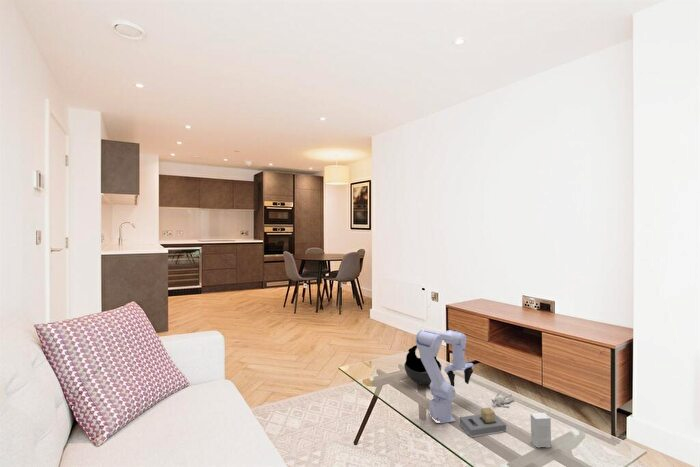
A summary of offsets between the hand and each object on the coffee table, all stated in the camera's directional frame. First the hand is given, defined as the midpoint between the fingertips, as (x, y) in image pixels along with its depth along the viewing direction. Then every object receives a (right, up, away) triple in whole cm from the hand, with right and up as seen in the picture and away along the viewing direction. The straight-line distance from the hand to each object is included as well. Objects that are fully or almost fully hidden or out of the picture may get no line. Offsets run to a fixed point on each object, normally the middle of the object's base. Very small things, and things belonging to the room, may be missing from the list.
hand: (459, 384), depth 178 cm
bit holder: (+5, -11, -18) cm, 22 cm away
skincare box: (+23, -12, -31) cm, 40 cm away
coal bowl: (-13, -10, +25) cm, 30 cm away
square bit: (+7, -11, -18) cm, 22 cm away
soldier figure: (+21, -10, 0) cm, 23 cm away
